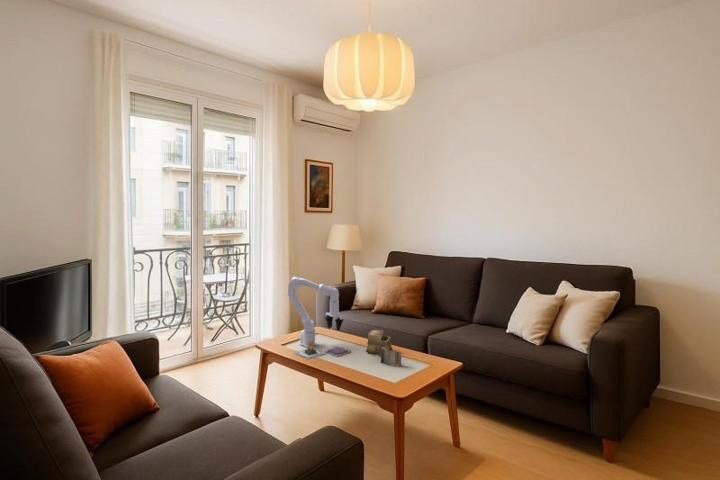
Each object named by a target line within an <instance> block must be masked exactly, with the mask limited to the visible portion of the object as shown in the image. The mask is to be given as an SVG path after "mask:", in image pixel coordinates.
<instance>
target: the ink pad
mask: <svg viewBox="0 0 720 480" xmlns="http://www.w3.org/2000/svg"><path fill="white" fill-rule="evenodd" d="M351 352H352V351H351V350H349V349H346V348H344V347H340V346H336V347H331V348H329V349H326V350H324V353H326V354H328V355H332V356H333V357H340V356H343V355H347V354H350V353H351Z"/></svg>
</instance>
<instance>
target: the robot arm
mask: <svg viewBox="0 0 720 480" xmlns="http://www.w3.org/2000/svg"><path fill="white" fill-rule="evenodd" d="M299 287H301V288H302V287H308V288H311V289H315V290H317V291H318V294H322V295H325V296H328V297H329V312H325V317H324V319H325V320H326V323H327V327H328V328H329V329H331V328H332V327H333V321H335V325H336V331H340V330H341V328H342V325H343V322H344V320H345V319H344V316H343V315H341V314H340V312H339V311H340V304H339V303H340V301H339V299H340V292H339V290H338V288H337V287H334V286H329V285H327V284H326V283H320V284H318V283H315V282H313V281H311V280H309V279H306V278H303V277H299V276H293V277H291V278H290V281H289V284H288V287H287V296H288V298H289V300H290V302H291V303H292V305H293V306H294V307H293V308H294V309H295V310H296V312H297V314H298V316H299V317H300V319H301V322H302V324H303V329H302V330H301V332H300V334H299V335H300V336H299V341H300V343H299V345H300V346H302V347H306V348H308V340H313V347H315V346H318V345H319V344H318V343H316V329H315V321H314V319H312V318H311V317H310V315H309V314H308V312H307V311H306V309H305V307H304V305H303V303H302V302H301V300H300V298H299V296H298V294H297V290H298V289H299ZM334 318H335V319H334Z"/></svg>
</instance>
